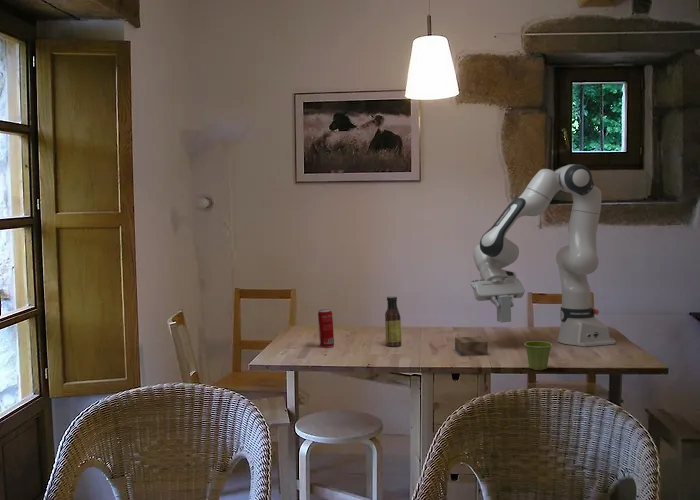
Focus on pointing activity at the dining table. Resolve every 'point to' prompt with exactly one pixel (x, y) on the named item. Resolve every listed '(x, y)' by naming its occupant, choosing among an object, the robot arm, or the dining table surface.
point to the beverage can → (326, 328)
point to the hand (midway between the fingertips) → (505, 306)
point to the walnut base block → (471, 346)
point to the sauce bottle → (392, 323)
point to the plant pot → (538, 354)
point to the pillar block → (504, 308)
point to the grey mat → (472, 355)
